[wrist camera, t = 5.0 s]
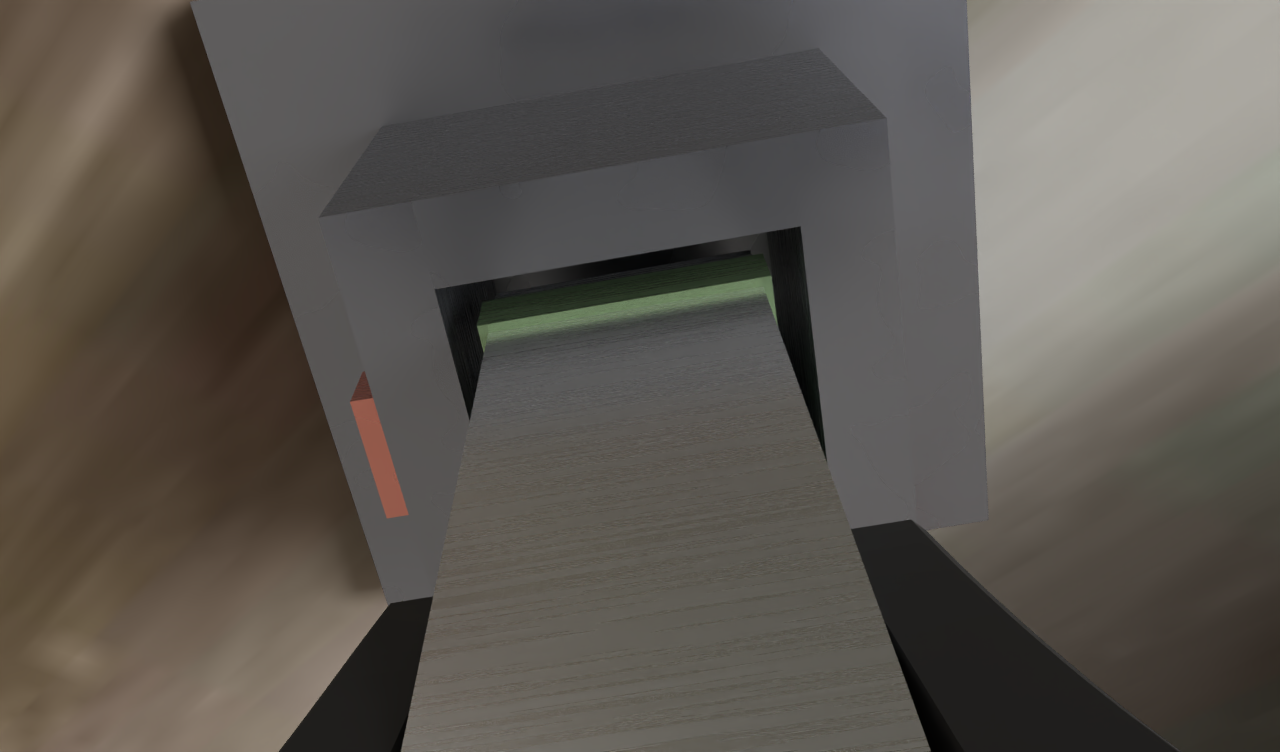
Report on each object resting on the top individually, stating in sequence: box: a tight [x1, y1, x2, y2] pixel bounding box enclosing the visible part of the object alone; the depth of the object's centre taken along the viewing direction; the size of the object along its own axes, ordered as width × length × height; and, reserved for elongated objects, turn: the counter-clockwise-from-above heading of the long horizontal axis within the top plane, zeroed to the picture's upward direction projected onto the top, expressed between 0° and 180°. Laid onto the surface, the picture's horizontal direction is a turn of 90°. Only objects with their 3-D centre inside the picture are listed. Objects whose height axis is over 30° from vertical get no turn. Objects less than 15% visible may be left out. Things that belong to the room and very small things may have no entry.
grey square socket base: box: [190, 0, 988, 606], centre depth 15 cm, size 10×10×5 cm
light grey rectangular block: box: [401, 250, 931, 752], centre depth 10 cm, size 3×3×8 cm
